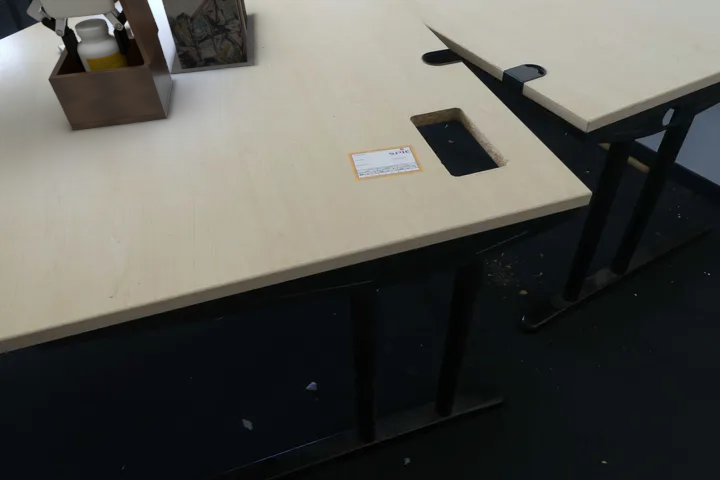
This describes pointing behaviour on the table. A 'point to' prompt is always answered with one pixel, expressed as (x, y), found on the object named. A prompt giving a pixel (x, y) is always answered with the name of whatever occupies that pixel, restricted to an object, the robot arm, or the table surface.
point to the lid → (141, 26)
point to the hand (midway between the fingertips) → (101, 53)
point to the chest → (113, 90)
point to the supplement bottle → (98, 46)
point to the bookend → (210, 34)
